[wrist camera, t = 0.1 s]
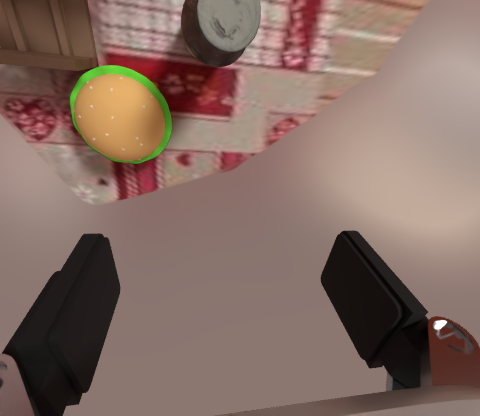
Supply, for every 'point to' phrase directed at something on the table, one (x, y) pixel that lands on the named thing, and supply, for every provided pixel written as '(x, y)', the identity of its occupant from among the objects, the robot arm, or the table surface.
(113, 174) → the table surface
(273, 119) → the table surface
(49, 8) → the holder
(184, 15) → the sauce bottle
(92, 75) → the hamburger
